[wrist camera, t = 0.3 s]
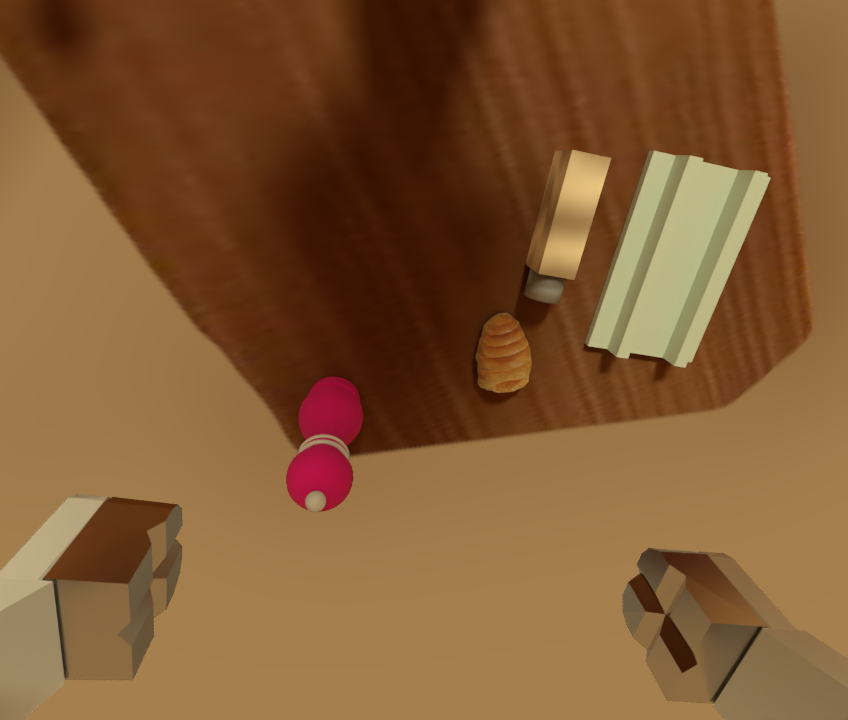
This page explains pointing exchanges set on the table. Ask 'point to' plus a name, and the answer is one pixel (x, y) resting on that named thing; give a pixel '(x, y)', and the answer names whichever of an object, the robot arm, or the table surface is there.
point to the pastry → (503, 355)
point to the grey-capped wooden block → (563, 222)
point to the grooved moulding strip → (674, 256)
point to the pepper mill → (325, 445)
